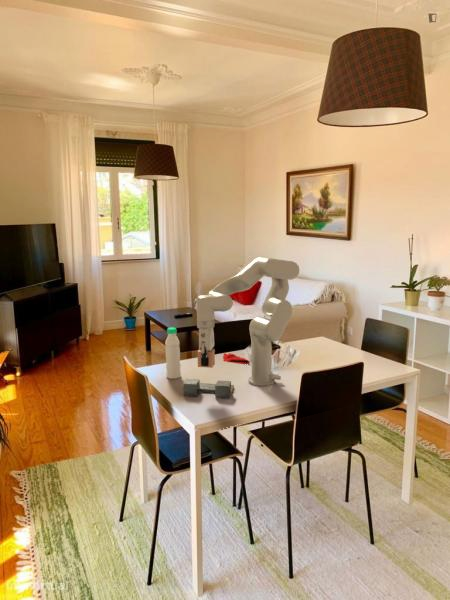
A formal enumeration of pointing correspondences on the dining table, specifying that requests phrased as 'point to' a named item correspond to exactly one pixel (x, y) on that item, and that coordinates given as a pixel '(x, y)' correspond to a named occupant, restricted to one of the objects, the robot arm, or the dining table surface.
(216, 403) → the dining table surface
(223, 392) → the gray dumbbell
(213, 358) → the block
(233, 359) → the cloth
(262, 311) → the robot arm
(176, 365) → the water bottle
